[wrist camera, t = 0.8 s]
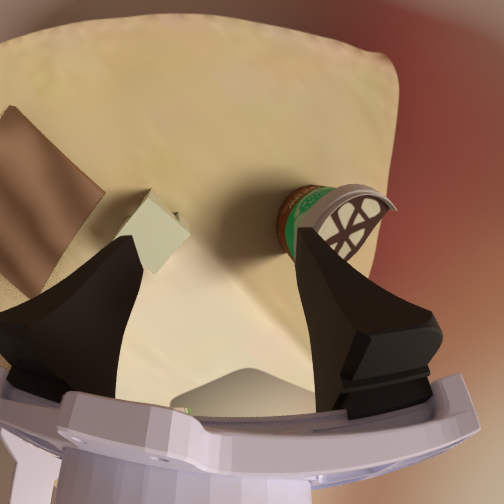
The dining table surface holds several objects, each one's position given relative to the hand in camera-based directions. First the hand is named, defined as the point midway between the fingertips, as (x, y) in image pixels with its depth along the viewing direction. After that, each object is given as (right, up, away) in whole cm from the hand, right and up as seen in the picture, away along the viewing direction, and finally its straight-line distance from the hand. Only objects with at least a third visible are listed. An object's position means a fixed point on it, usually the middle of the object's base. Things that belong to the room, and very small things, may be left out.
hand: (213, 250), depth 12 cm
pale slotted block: (-9, +3, +17) cm, 19 cm away
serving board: (-24, +5, +11) cm, 27 cm away
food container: (+7, +5, +21) cm, 23 cm away
